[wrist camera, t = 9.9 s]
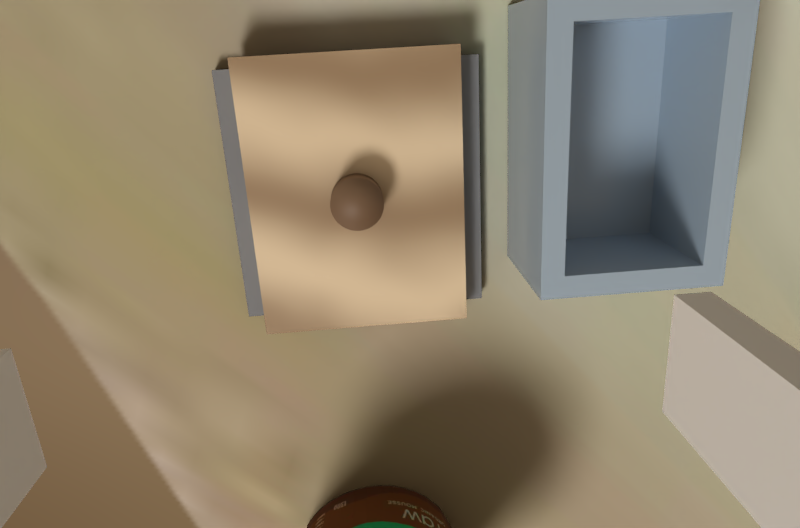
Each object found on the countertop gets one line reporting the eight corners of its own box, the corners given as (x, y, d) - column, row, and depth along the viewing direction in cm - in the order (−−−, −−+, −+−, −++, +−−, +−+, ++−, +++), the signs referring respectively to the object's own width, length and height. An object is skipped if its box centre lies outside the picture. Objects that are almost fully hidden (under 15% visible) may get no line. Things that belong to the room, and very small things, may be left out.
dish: (508, 5, 27) (547, -7, 22) (679, -5, 28) (762, -19, 22) (507, 255, 31) (540, 300, 26) (657, 244, 32) (723, 285, 26)
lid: (232, 57, 27) (221, 57, 25) (456, 44, 27) (465, 43, 25) (269, 323, 31) (263, 345, 29) (462, 308, 32) (470, 328, 29)
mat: (214, 69, 27) (211, 70, 27) (476, 54, 28) (478, 54, 27) (251, 311, 31) (249, 316, 31) (479, 293, 32) (481, 298, 31)
